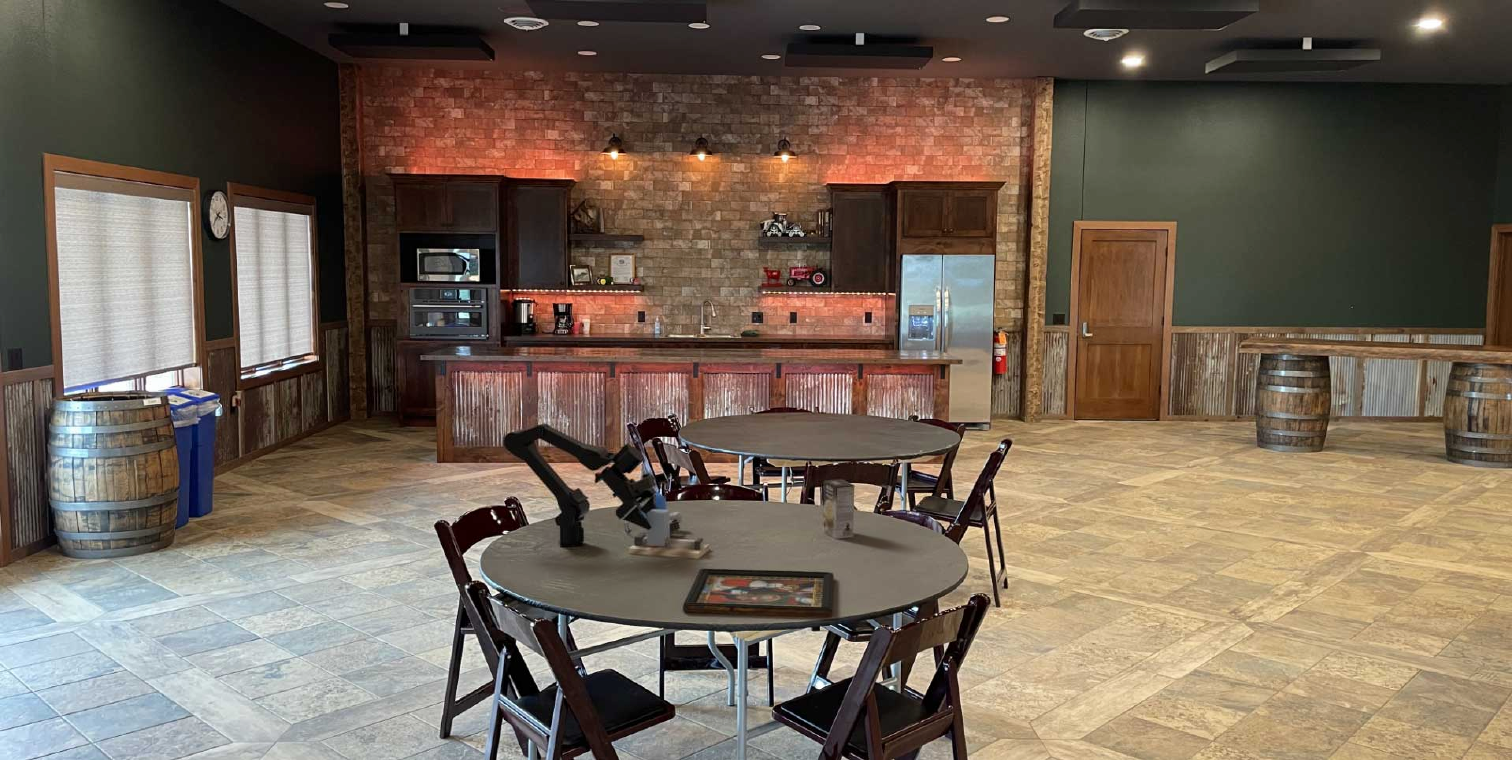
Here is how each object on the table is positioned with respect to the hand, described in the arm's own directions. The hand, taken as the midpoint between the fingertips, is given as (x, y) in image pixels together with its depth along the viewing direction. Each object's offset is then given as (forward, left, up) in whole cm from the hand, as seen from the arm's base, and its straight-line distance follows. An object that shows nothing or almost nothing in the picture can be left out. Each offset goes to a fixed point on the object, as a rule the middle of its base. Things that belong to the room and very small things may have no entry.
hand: (656, 524), depth 300 cm
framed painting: (+18, -47, -8) cm, 51 cm away
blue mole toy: (+4, +39, -8) cm, 40 cm away
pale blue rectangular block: (+1, 0, -5) cm, 5 cm away
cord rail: (+4, -2, -7) cm, 8 cm away
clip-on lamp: (+2, +21, -8) cm, 22 cm away
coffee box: (+56, +4, -8) cm, 57 cm away
